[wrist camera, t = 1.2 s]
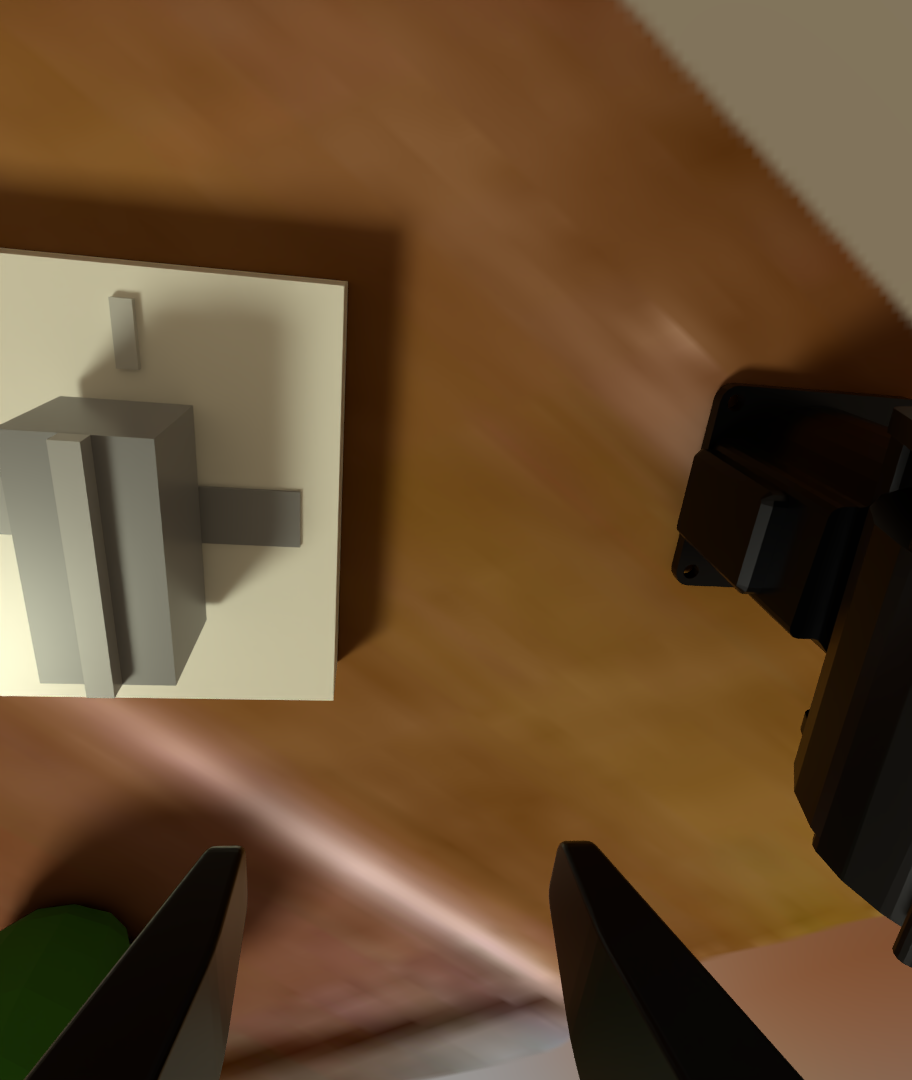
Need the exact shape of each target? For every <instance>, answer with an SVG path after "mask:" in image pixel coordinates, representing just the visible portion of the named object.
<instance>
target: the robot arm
mask: <svg viewBox="0 0 912 1080" xmlns="http://www.w3.org/2000/svg"><path fill="white" fill-rule="evenodd" d="M736 394H737V395H738V401H737V403H736V405H735V406H734V407H732V408H728V401H729V399H730V398H731V397H732V396H733V395H736ZM677 530H678V531H679V533H680V535H679V539H678V543H677V546H676V550H675V554H674V558H673V562H672V570H671V571H672V573H673V575H674V576H675V578H676V579H677V580H678V581H679V582H680V583H682V584H684V585H693V586H718V587H734V588H735V589H736V590H737V591H738V592H740V593H742V594H749V595H750V596H751V597H752V598H753V599H754V600H755V601H756V602H757V603H758V604H759V605H760V606H761V607H762V608H763V609H764V610H765V611H766V612H767V613H768V614H769V615H770V616H771V617H772V618H774V619H775V620H776V621H777V622H778V623H779V624H780V625H781V626H782V627H783V628H784V629H785V630H786V631H787V632H788V633H789V634H790V635H791V636H792V637H794V638H798V639H811V640H812V641H813V642H814V643H815V644H817V645H818V646H819V647H820V648H821V649H822V650H823V651H824V652H825V653H826V656H825V660H824V663H823V666H822V670H821V673H820V677H819V680H818V683H817V687H816V690H815V694H814V697H813V700H812V704H811V707H810V710H807V711H806V712H805V715H804V718H803V722H802V725H801V732H802V738H801V741H800V745H799V748H798V752H797V755H796V758H795V762H794V792H795V794H796V797H797V799H798V801H799V803H800V805H801V807H802V810H803V812H804V814H805V816H806V818H807V821H808V823H809V825H810V827H811V828H812V830H813V831H814V833H815V834H814V837H813V843H812V845H813V847H814V849H815V851H816V852H817V853H818V854H819V856H820V857H821V858H822V859H823V860H824V861H825V862H826V864H827V865H828V866H829V867H830V868H831V869H832V870H833V871H834V873H835V874H836V875H837V876H838V877H839V878H840V879H841V880H842V881H843V882H844V883H845V884H846V885H848V886H849V887H850V888H851V889H852V890H854V891H855V892H856V893H857V894H858V895H860V896H861V897H862V898H863V899H864V900H866V901H867V902H868V903H869V904H870V905H872V906H873V907H874V908H875V909H876V910H878V911H879V912H880V913H881V914H883V915H884V916H886V917H887V918H889V919H890V920H892V921H893V922H895V923H896V924H898V925H900V926H901V929H900V932H899V934H898V937H897V939H896V941H895V943H894V946H893V948H892V949H893V953H894V954H895V956H896V957H897V959H898V960H900V961H901V962H902V963H904V964H905V965H908V966H909V967H912V399H908V398H905V397H898V396H885V395H873V394H861V393H849V392H837V391H825V390H813V389H801V388H789V387H777V386H765V385H753V384H741V383H730V384H726V385H724V386H723V387H721V388H720V389H719V390H718V391H717V393H716V395H715V397H714V400H713V404H712V408H711V412H710V416H709V420H708V424H707V428H706V432H705V436H704V440H703V444H702V448H701V450H700V451H699V452H698V453H697V454H696V455H695V456H694V460H693V464H692V468H691V472H690V476H689V480H688V484H687V488H686V492H685V496H684V500H683V504H682V508H681V512H680V516H679V520H678V524H677ZM689 565H693V568H692V570H691V571H689V572H688V573H684V570H685V568H686V567H687V566H689ZM247 898H248V890H247V868H246V852H245V849H244V848H243V847H242V846H213V847H211V848H209V849H207V850H206V851H205V852H204V854H203V855H202V856H201V857H200V858H199V860H198V861H197V862H196V864H195V865H194V866H193V867H192V869H191V870H190V871H189V872H188V874H187V875H186V876H185V877H184V879H183V880H182V881H181V882H180V884H179V885H178V886H177V887H176V889H175V890H174V891H173V892H172V894H171V895H170V896H169V898H168V899H167V900H166V901H165V903H164V904H163V905H162V906H161V908H160V909H159V910H158V911H157V913H156V914H155V915H154V916H153V918H152V919H151V920H150V921H149V923H148V924H147V925H146V926H145V928H144V929H143V930H142V932H141V933H140V934H139V935H138V937H137V938H136V939H135V940H134V942H133V943H132V944H131V945H130V947H129V948H128V949H127V950H126V952H125V953H124V954H123V955H122V957H121V958H120V959H119V960H118V962H117V963H116V964H115V966H114V967H113V968H112V969H111V971H110V972H109V973H108V974H107V976H106V977H105V978H104V979H103V981H102V982H101V983H100V984H99V986H98V987H97V988H96V989H95V991H94V992H93V993H92V994H91V996H90V997H89V998H88V1000H87V1001H86V1002H85V1003H84V1005H83V1006H82V1007H81V1008H80V1010H79V1011H78V1012H77V1013H76V1015H75V1016H74V1017H73V1018H72V1020H71V1021H70V1022H69V1023H68V1025H67V1026H66V1027H65V1028H64V1030H63V1031H62V1032H61V1033H60V1035H59V1036H58V1037H57V1039H56V1040H55V1041H54V1042H53V1044H52V1045H51V1046H50V1047H49V1049H48V1050H47V1051H46V1052H45V1054H44V1055H43V1056H42V1057H41V1059H40V1060H39V1061H38V1062H37V1064H36V1065H35V1066H34V1067H33V1069H32V1070H31V1071H30V1073H29V1074H28V1075H27V1076H26V1078H25V1079H24V1080H219V1077H220V1073H221V1068H222V1064H223V1060H224V1054H225V1049H226V1043H227V1037H228V1032H229V1025H230V1018H231V1012H232V1005H233V998H234V992H235V985H236V978H237V972H238V965H239V958H240V952H241V945H242V938H243V931H244V925H245V918H246V911H247ZM549 904H550V911H551V918H552V924H553V931H554V937H555V944H556V951H557V957H558V964H559V970H560V977H561V984H562V990H563V997H564V1003H565V1010H566V1016H567V1022H568V1028H569V1034H570V1040H571V1044H572V1049H573V1053H574V1058H575V1062H576V1066H577V1070H578V1074H579V1078H580V1080H804V1079H803V1078H802V1077H801V1076H800V1075H799V1074H798V1072H797V1071H796V1070H795V1069H794V1068H793V1067H792V1066H791V1064H790V1063H789V1062H788V1061H787V1060H786V1059H785V1058H784V1057H783V1056H782V1054H781V1053H780V1052H779V1051H778V1050H777V1049H776V1048H775V1046H774V1045H773V1044H772V1043H771V1042H770V1041H769V1040H768V1039H767V1038H766V1036H765V1035H764V1034H763V1033H762V1032H761V1031H760V1030H759V1029H758V1027H757V1026H756V1025H755V1024H754V1023H753V1022H752V1021H751V1020H750V1018H749V1017H748V1016H747V1015H746V1014H745V1013H744V1012H743V1010H742V1009H741V1008H740V1007H739V1006H738V1005H737V1004H736V1003H735V1001H734V1000H733V999H732V998H731V997H730V996H729V995H728V994H727V992H726V991H725V990H724V989H723V988H722V987H721V986H720V984H719V983H718V982H717V981H716V980H715V979H714V978H713V977H712V975H711V974H710V973H709V972H708V971H707V970H706V969H705V968H704V966H703V965H702V964H701V963H700V962H699V961H698V960H697V959H696V957H695V956H694V955H693V954H692V953H691V952H690V951H689V950H688V948H687V947H686V946H685V945H684V944H683V943H682V942H681V941H680V939H679V938H678V937H677V936H676V935H675V934H674V933H673V932H672V930H671V929H670V928H669V927H668V926H667V925H666V924H665V922H664V921H663V920H662V919H661V918H660V917H659V916H658V915H657V913H656V912H655V911H654V910H653V909H652V908H651V907H650V906H649V904H648V903H647V902H646V901H645V900H644V899H643V898H642V897H641V895H640V894H639V893H638V892H637V891H636V890H635V889H634V888H633V886H632V885H631V884H630V883H629V882H628V881H627V880H626V879H625V877H624V876H623V875H622V874H621V873H620V872H619V871H618V870H617V868H616V867H615V866H614V865H613V864H612V863H611V862H610V861H609V859H608V858H607V857H606V856H605V855H604V854H603V853H602V851H601V850H600V849H599V848H598V847H597V846H596V845H595V844H594V843H592V842H590V841H564V842H562V843H560V845H559V847H558V849H557V854H556V858H555V863H554V867H553V872H552V877H551V881H550V886H549Z"/></svg>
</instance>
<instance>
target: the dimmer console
mask: <svg viewBox="0 0 912 1080" xmlns="http://www.w3.org/2000/svg"><path fill="white" fill-rule="evenodd" d="M347 304H348V281H340V280H330V279H320V278H309V277H299V276H289V275H278V274H268V273H258V272H247V271H237V270H227V269H216V268H206V267H196V266H185V265H175V264H164V263H154V262H144V261H133V260H123V259H113V258H102V257H92V256H82V255H71V254H61V253H51V252H40V251H30V250H20V249H9V248H0V424H3V423H5V422H7V421H9V420H11V419H13V418H15V417H17V416H19V415H21V414H23V413H26V412H28V411H30V410H32V409H34V408H36V407H38V406H40V405H42V404H44V403H46V402H48V401H51V400H53V399H55V398H57V397H59V396H68V397H82V398H96V399H110V400H125V401H139V402H153V403H167V404H182V405H193V414H194V430H195V445H196V461H197V477H198V492H199V508H200V523H201V539H202V555H203V570H204V586H205V601H206V617H207V620H206V622H205V625H204V627H203V629H202V631H201V633H200V635H199V637H198V640H197V642H196V644H195V646H194V648H193V650H192V653H191V655H190V657H189V659H188V661H187V663H186V665H185V668H184V670H183V672H182V674H181V676H180V678H179V681H178V683H177V685H176V686H165V685H122V687H121V688H120V690H119V692H118V693H117V695H116V697H121V698H191V699H261V700H330V701H333V698H334V689H335V679H336V670H337V655H338V620H339V585H340V549H341V514H342V479H343V444H344V409H345V374H346V339H347ZM0 696H51V697H86V691H85V685H84V684H45V683H40V681H39V675H38V670H37V665H36V660H35V654H34V649H33V644H32V639H31V633H30V628H29V623H28V617H27V612H26V607H25V602H24V596H23V591H22V586H21V581H20V575H19V570H18V565H17V560H16V554H15V549H14V544H13V538H12V533H11V528H10V523H9V517H8V512H7V507H6V502H5V496H4V491H3V486H2V480H1V475H0Z"/></svg>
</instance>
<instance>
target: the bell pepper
mask: <svg viewBox="0 0 912 1080" xmlns="http://www.w3.org/2000/svg"><path fill="white" fill-rule="evenodd" d="M130 945H131V944H129V938H128V934H127V929H126V927H125V926H124V925H123V924H122V923H121V922H120V921H119V920H118V919H117V918H116V917H115V916H114V915H113V914H111V913H109V912H105V911H101V910H97V909H92V908H88V907H84V906H80V905H76V904H72V905H65V906H57V907H50V908H42V909H37V910H35V911H34V912H32V913H30V914H28V915H27V916H25V917H23V918H22V919H20V920H18V921H17V922H15V923H13V924H11V925H10V926H8V927H6V928H5V929H3V930H2V931H0V1080H24V1079H25V1078H26V1076H27V1075H28V1074H29V1073H30V1071H31V1070H32V1069H33V1067H34V1066H35V1065H36V1064H37V1062H38V1061H39V1060H40V1059H41V1057H42V1056H43V1055H44V1054H45V1052H46V1051H47V1050H48V1049H49V1047H50V1046H51V1045H52V1044H53V1042H54V1041H55V1040H56V1039H57V1037H58V1036H59V1035H60V1033H61V1032H62V1031H63V1030H64V1028H65V1027H66V1026H67V1025H68V1023H69V1022H70V1021H71V1020H72V1018H73V1017H74V1016H75V1015H76V1013H77V1012H78V1011H79V1010H80V1008H81V1007H82V1006H83V1005H84V1003H85V1002H86V1001H87V1000H88V998H89V997H90V996H91V994H92V993H93V992H94V991H95V989H96V988H97V987H98V986H99V984H100V983H101V982H102V981H103V979H104V978H105V977H106V976H107V974H108V973H109V972H110V971H111V969H112V968H113V967H114V966H115V964H116V963H117V962H118V960H119V959H120V958H121V957H122V955H123V954H124V953H125V952H126V950H127V949H128V948H129V947H130Z"/></svg>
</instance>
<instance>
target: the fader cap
mask: <svg viewBox="0 0 912 1080" xmlns="http://www.w3.org/2000/svg"><path fill="white" fill-rule="evenodd" d="M0 475H1V480H2V486H3V491H4V496H5V502H6V507H7V512H8V517H9V523H10V528H11V533H12V538H13V544H14V549H15V554H16V560H17V565H18V570H19V575H20V581H21V586H22V591H23V596H24V602H25V607H26V612H27V617H28V623H29V628H30V633H31V639H32V644H33V649H34V654H35V660H36V665H37V670H38V675H39V681H40V683H45V684H84V685H85V691H86V697H87V698H115V697H116V695H117V693H118V692H119V690H120V688H121V687H122V685H165V686H176V685H177V683H178V681H179V678H180V676H181V674H182V672H183V670H184V668H185V665H186V663H187V661H188V659H189V657H190V655H191V653H192V650H193V648H194V646H195V644H196V642H197V640H198V637H199V635H200V633H201V631H202V629H203V627H204V625H205V622H206V620H207V617H206V601H205V586H204V570H203V555H202V539H201V523H200V508H199V492H198V477H197V461H196V445H195V430H194V414H193V405H182V404H167V403H153V402H139V401H125V400H110V399H96V398H82V397H68V396H59V397H57V398H55V399H53V400H51V401H48V402H46V403H44V404H42V405H40V406H38V407H36V408H34V409H32V410H30V411H28V412H26V413H23V414H21V415H19V416H17V417H15V418H13V419H11V420H9V421H7V422H5V423H3V424H0Z"/></svg>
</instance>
